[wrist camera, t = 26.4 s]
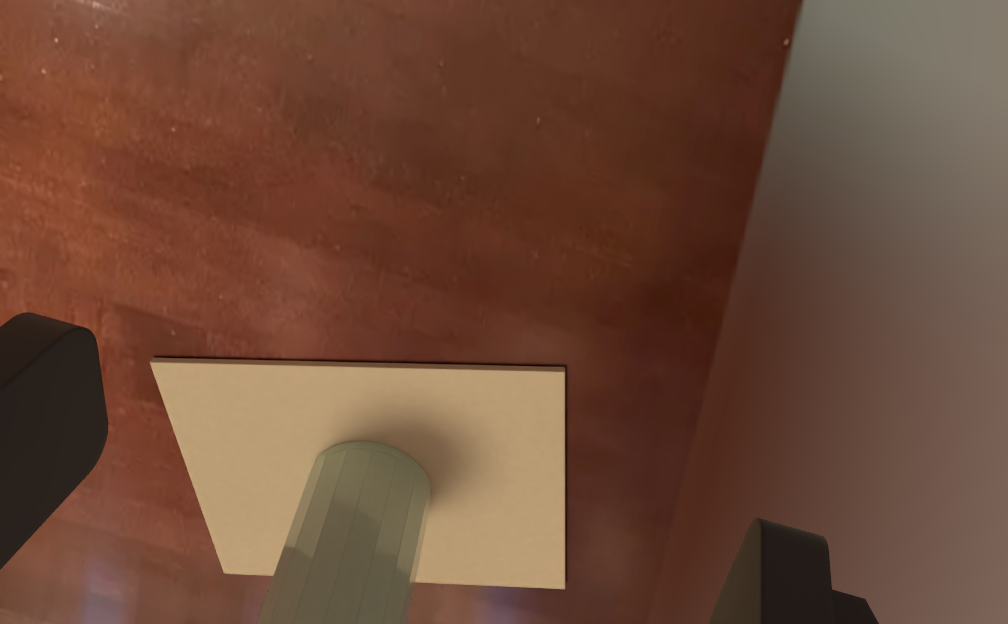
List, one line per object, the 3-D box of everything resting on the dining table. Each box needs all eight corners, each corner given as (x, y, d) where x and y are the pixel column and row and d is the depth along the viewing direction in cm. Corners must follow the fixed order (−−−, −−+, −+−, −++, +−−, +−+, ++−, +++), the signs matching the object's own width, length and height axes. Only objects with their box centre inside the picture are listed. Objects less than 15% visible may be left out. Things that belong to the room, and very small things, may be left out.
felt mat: (565, 366, 42) (564, 372, 41) (565, 583, 51) (565, 589, 51) (152, 357, 43) (149, 362, 43) (226, 568, 53) (223, 573, 53)
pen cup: (426, 442, 45) (383, 635, 36) (436, 527, 48) (400, 721, 40) (301, 438, 45) (228, 627, 36) (320, 522, 49) (259, 713, 40)
